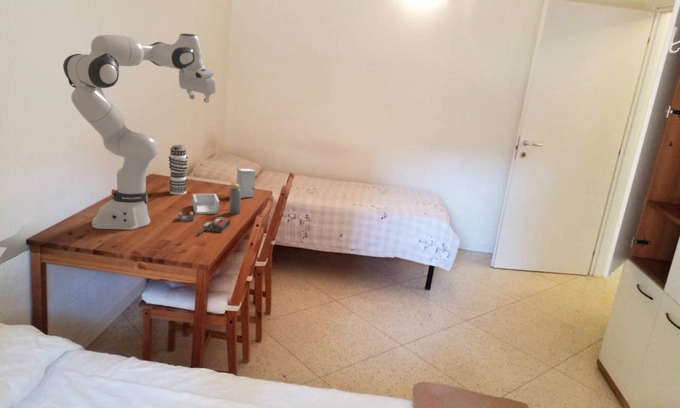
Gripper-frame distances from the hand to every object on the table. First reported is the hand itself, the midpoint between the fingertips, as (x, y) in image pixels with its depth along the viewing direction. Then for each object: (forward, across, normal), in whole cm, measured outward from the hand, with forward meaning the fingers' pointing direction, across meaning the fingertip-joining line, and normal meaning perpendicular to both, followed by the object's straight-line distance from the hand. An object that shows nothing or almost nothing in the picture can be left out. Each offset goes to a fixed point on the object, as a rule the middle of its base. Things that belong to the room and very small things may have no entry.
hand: (199, 100), depth 221 cm
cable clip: (+43, +15, -32) cm, 56 cm away
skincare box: (+57, +7, +14) cm, 59 cm away
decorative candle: (+52, -20, -8) cm, 56 cm away
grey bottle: (+49, +23, -10) cm, 55 cm away
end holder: (+48, +10, -16) cm, 52 cm away
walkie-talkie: (+43, +33, -32) cm, 63 cm away
